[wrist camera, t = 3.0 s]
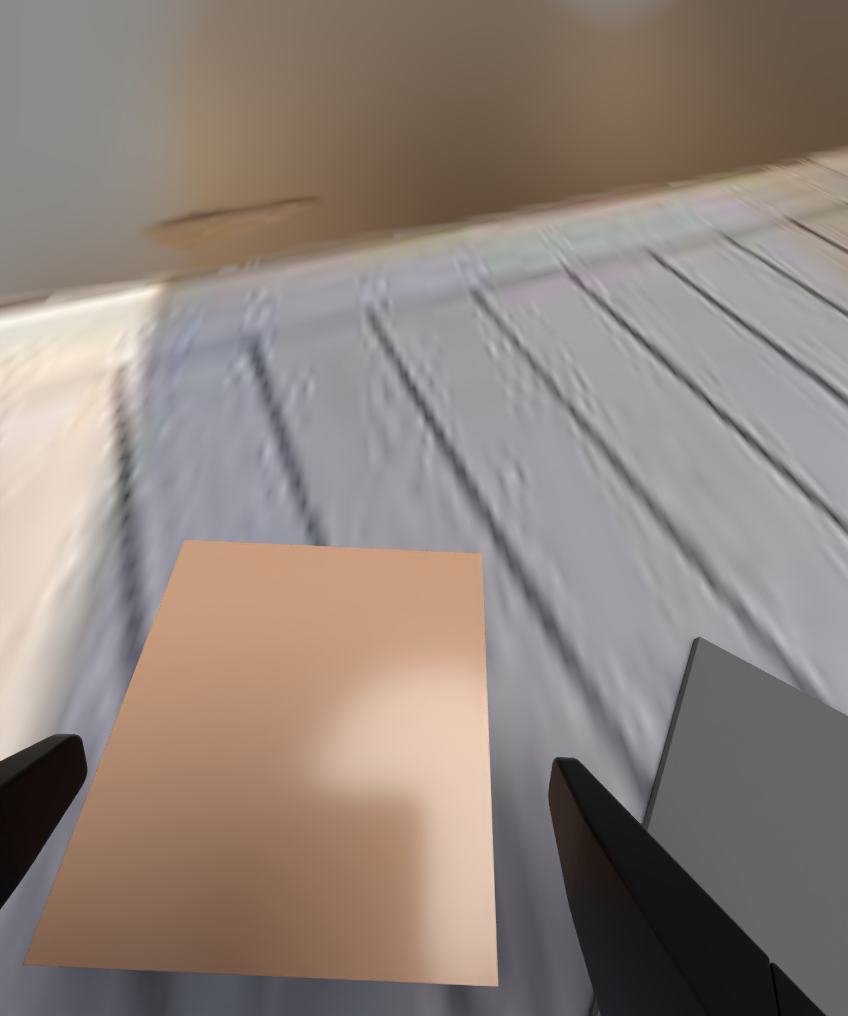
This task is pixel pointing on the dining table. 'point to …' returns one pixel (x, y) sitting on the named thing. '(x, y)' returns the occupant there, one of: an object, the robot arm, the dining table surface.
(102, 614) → the dining table surface
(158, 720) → the tan rectangular block
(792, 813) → the rubber mat
